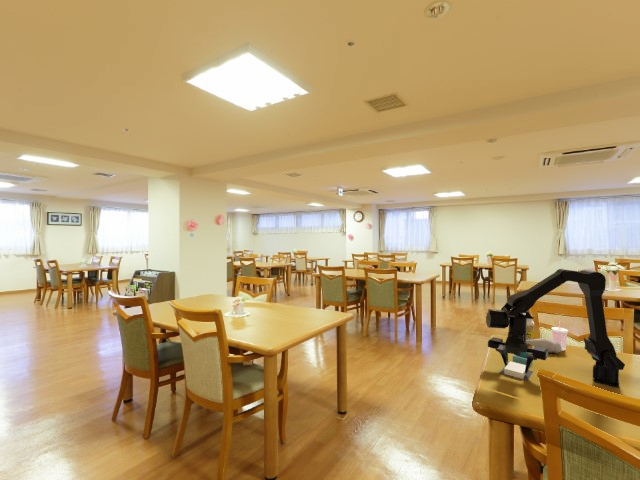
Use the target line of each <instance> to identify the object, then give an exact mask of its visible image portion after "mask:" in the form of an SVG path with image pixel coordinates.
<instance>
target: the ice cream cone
mask: <svg viewBox="0 0 640 480" xmlns="http://www.w3.org/2000/svg"><path fill="white" fill-rule="evenodd" d="M526 342H527V344H528V343H529V345H530V346H532V347H533V348H534V347H535V346H538V347H542V348H546V349H547V350H548V354H550V353H553V354H554V353H555V354H559V353H560V352H562V350H561V346H560V344H558V343H556V342H553V340H551V339H549V338H546V337H543V338H534V339H532V340H526Z"/></svg>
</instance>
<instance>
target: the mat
mask: <svg viewBox="0 0 640 480" xmlns="http://www.w3.org/2000/svg"><path fill="white" fill-rule="evenodd" d="M504 368H505V366H503V368H502V369H501V370H500V372H498V374H499V375H502V376H507V377H511V378H513V379H517V380H520V381H524V382H528V380H530V378H531V376H532V374H533V373H534V371H533V370H529V369H528V372H527V373H526V375H525V376H524V378H523V379H521V378H518V377H514V376H510V375H507V374H504Z"/></svg>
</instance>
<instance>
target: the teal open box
mask: <svg viewBox="0 0 640 480" xmlns="http://www.w3.org/2000/svg"><path fill="white" fill-rule="evenodd" d="M528 355H529V354H528V353H525V352H523V353H522V352H521V354H520V355H515V354H513V355H512V362H515V363H519V364H523V365H526V362H527V356H528ZM533 363H534V360H533V361H532V363H531V365H530V367H531V366H532V365H533ZM530 367H529V369H530Z"/></svg>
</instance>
